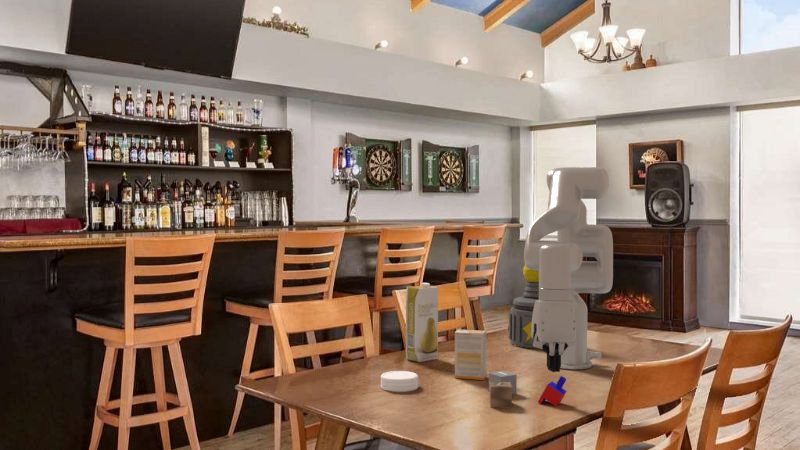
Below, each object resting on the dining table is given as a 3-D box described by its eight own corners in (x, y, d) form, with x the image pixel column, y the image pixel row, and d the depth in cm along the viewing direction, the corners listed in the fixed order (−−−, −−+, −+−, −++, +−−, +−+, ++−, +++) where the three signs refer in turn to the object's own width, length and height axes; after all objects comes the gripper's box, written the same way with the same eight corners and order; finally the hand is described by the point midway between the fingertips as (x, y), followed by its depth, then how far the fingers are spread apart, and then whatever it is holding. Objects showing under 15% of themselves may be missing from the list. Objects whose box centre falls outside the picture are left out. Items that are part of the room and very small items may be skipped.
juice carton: (419, 363, 212) (420, 284, 212) (402, 359, 218) (402, 282, 218) (441, 359, 219) (442, 282, 218) (424, 355, 224) (424, 280, 224)
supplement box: (487, 377, 196) (487, 330, 196) (483, 381, 191) (483, 333, 191) (458, 374, 199) (458, 328, 198) (454, 378, 194) (454, 331, 194)
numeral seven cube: (510, 402, 171) (510, 381, 170) (511, 408, 166) (512, 386, 165) (489, 401, 171) (489, 381, 171) (490, 407, 166) (490, 386, 166)
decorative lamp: (502, 346, 239) (503, 259, 239) (515, 337, 257) (516, 255, 256) (557, 351, 232) (558, 261, 231) (567, 341, 249) (568, 257, 249)
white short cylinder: (374, 385, 187) (374, 372, 187) (408, 381, 191) (409, 369, 191) (389, 394, 178) (389, 380, 178) (424, 390, 182) (424, 377, 182)
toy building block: (552, 412, 168) (568, 384, 166) (537, 402, 169) (552, 374, 167) (556, 408, 171) (572, 381, 169) (542, 398, 173) (557, 371, 171)
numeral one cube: (503, 389, 183) (504, 370, 183) (516, 394, 178) (516, 374, 178) (488, 392, 180) (488, 372, 180) (500, 396, 176) (501, 376, 176)
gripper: (574, 292, 175) (573, 365, 176) (519, 294, 171) (518, 369, 171) (590, 296, 168) (589, 372, 168) (533, 298, 164) (532, 376, 164)
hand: (553, 370), depth 170 cm, fingers closed
